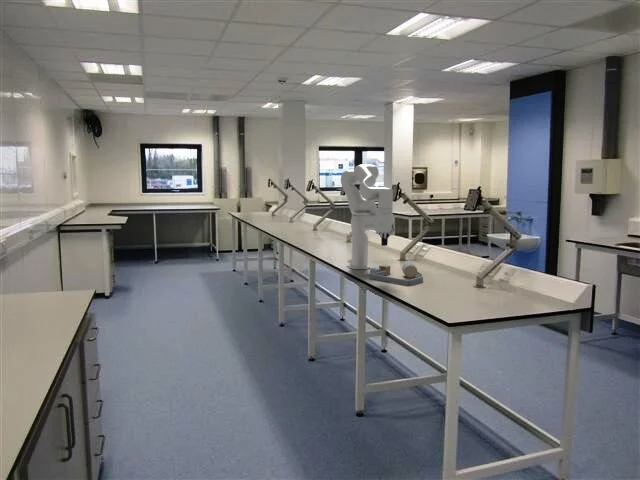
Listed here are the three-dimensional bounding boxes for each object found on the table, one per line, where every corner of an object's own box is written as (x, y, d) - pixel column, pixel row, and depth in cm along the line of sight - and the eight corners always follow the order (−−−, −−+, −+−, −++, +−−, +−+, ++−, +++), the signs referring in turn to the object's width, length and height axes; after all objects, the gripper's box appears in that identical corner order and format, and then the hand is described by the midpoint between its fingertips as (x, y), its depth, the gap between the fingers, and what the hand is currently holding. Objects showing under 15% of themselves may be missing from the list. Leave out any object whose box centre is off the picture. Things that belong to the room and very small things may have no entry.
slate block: (369, 275, 282) (370, 268, 281) (374, 274, 285) (374, 267, 284) (375, 276, 279) (375, 269, 279) (380, 275, 282) (380, 268, 282)
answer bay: (369, 278, 274) (369, 273, 273) (384, 275, 284) (384, 270, 283) (408, 285, 257) (408, 280, 257) (422, 281, 267) (423, 277, 267)
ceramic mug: (404, 278, 276) (404, 264, 275) (401, 275, 284) (402, 261, 283) (423, 279, 276) (424, 264, 275) (420, 276, 284) (421, 262, 283)
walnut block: (378, 273, 288) (379, 265, 288) (383, 272, 292) (383, 264, 291) (385, 274, 285) (385, 266, 285) (390, 273, 289) (390, 265, 288)
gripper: (369, 210, 275) (368, 244, 278) (392, 212, 265) (391, 247, 267) (378, 210, 281) (377, 243, 283) (400, 211, 271) (400, 246, 273)
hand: (384, 245), depth 275 cm, fingers closed
